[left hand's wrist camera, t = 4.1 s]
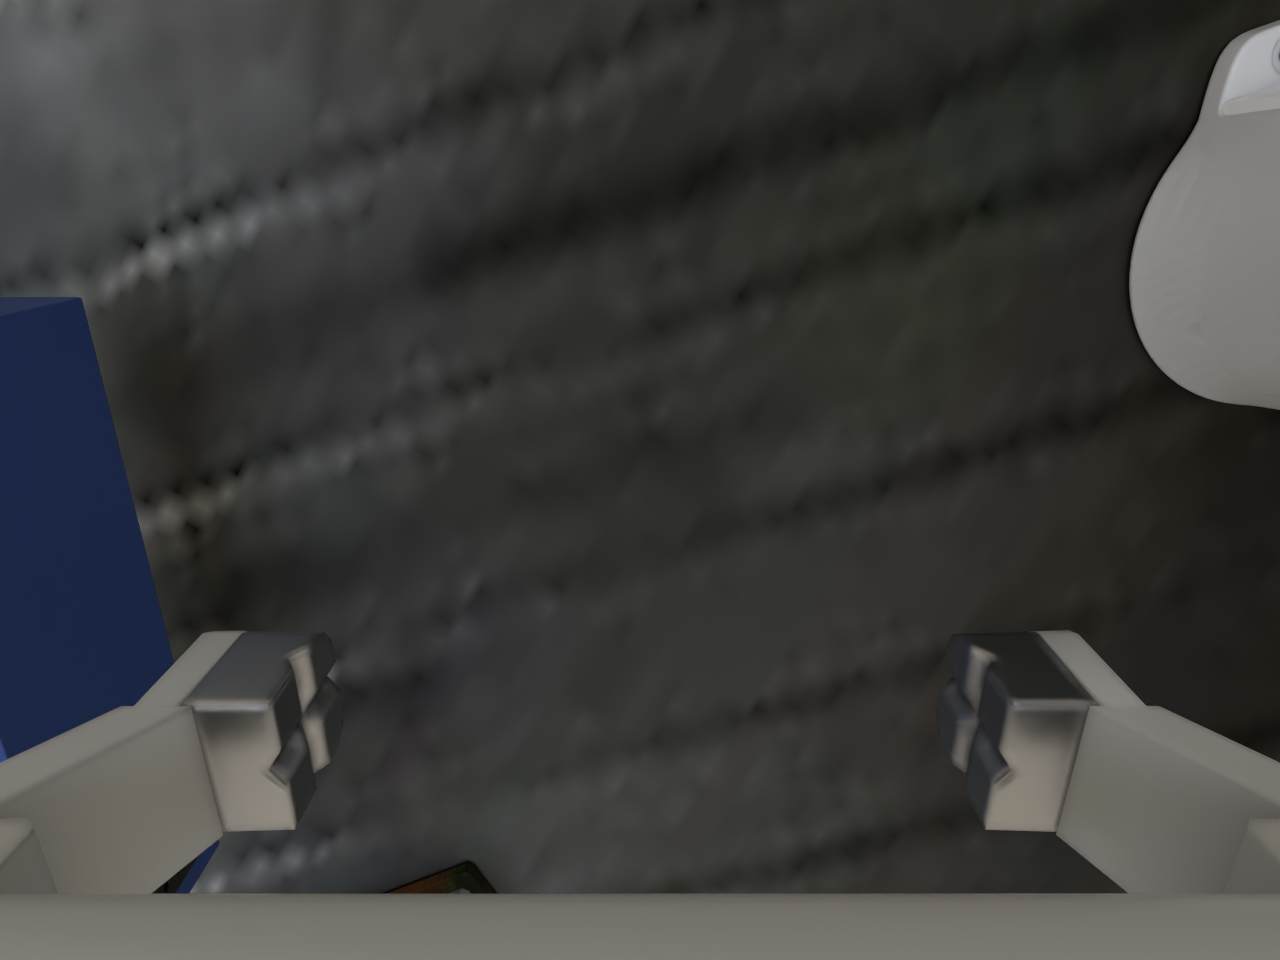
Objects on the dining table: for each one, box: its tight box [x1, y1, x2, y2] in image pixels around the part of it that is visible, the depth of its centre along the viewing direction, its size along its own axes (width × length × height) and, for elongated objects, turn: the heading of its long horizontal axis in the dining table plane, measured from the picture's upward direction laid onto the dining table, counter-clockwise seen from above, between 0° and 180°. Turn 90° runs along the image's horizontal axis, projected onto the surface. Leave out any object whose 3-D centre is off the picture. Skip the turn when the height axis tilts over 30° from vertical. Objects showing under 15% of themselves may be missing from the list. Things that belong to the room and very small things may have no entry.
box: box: [0, 297, 219, 894], centre depth 28 cm, size 25×6×9 cm, turn 0°
